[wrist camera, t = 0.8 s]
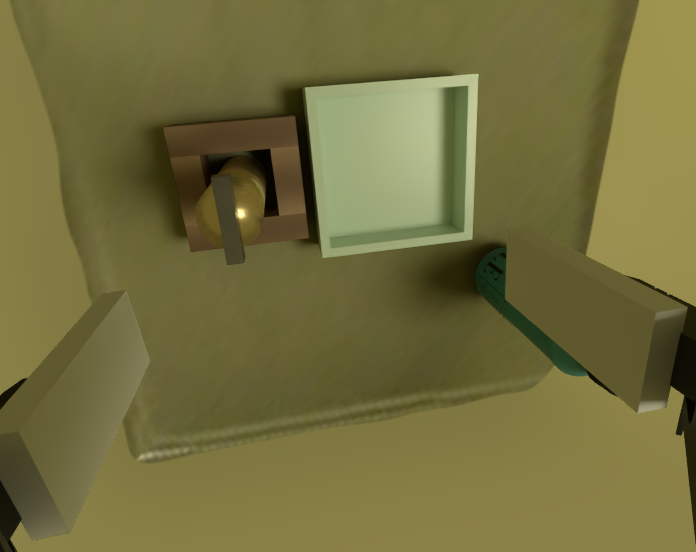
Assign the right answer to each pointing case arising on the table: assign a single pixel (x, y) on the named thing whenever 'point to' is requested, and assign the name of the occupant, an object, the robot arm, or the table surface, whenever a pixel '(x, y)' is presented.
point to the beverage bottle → (493, 290)
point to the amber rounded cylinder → (233, 207)
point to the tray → (392, 162)
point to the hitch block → (233, 136)
